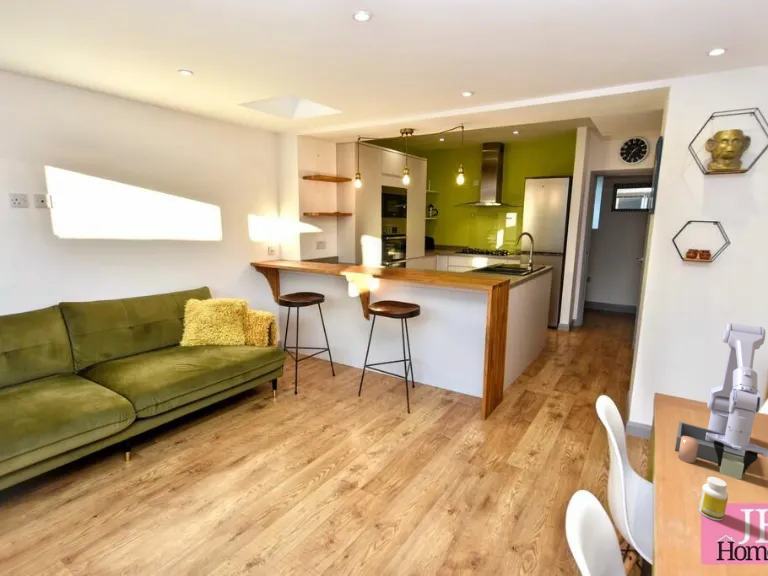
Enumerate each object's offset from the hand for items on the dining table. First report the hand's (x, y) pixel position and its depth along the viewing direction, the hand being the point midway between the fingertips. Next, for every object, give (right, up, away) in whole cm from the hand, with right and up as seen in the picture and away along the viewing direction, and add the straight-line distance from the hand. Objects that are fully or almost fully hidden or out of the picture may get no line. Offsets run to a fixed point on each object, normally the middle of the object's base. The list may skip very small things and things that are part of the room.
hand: (730, 468), depth 128 cm
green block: (0, -1, 0) cm, 1 cm away
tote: (+2, +1, +12) cm, 12 cm away
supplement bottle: (-21, -5, -18) cm, 28 cm away
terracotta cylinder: (-9, 0, +7) cm, 11 cm away
